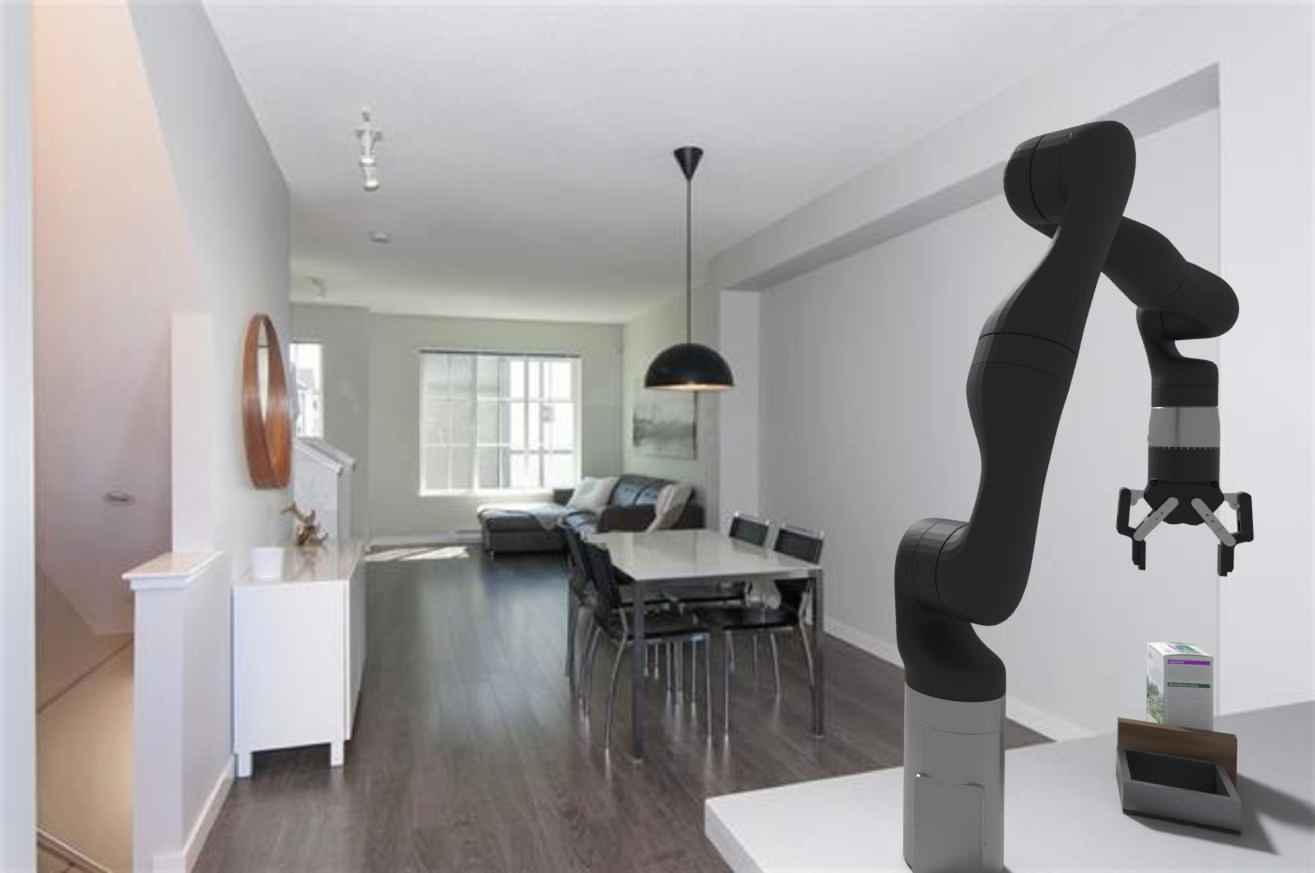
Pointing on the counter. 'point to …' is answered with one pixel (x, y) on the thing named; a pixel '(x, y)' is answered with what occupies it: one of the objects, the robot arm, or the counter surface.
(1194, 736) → the door edge slab
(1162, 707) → the syrup box
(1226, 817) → the keeper pocket
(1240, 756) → the counter surface
